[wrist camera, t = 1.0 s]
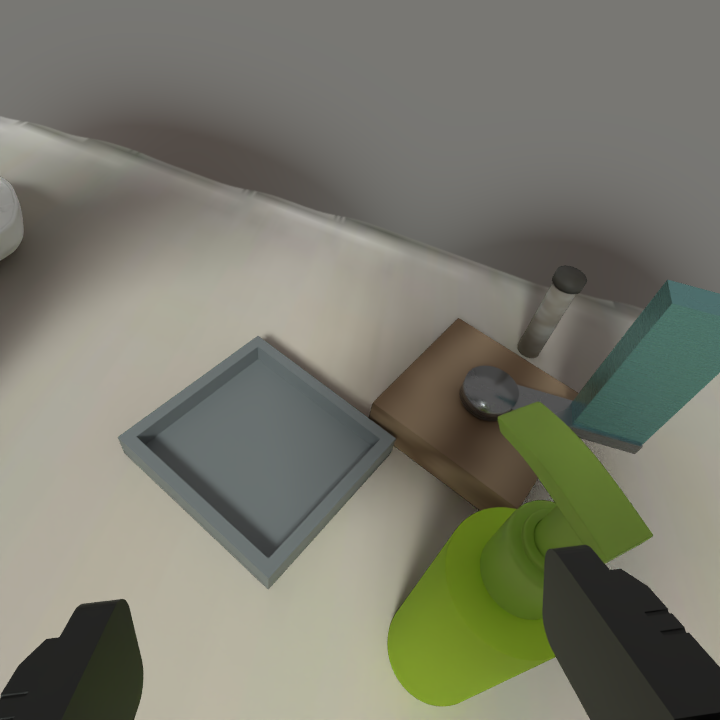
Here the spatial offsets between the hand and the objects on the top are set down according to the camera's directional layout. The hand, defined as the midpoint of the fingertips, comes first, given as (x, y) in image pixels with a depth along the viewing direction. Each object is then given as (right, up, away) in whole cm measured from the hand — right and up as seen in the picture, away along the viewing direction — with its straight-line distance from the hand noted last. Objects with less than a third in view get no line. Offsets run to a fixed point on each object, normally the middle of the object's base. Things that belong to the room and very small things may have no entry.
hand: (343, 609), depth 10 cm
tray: (-7, -2, +27) cm, 28 cm away
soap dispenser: (+5, -12, +21) cm, 25 cm away
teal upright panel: (+14, +1, +29) cm, 32 cm away
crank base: (+11, +1, +33) cm, 35 cm away
